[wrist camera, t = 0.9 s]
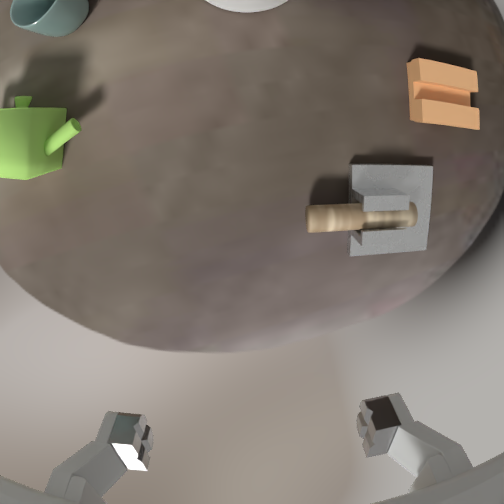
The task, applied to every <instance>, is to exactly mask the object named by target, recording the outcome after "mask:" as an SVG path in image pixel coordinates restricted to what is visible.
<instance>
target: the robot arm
mask: <svg viewBox="0 0 504 504" xmlns="http://www.w3.org/2000/svg"><path fill="white" fill-rule="evenodd" d="M206 1H207V2H209V3H210V4H212V5H214V6H217V7H219V8H222V9H225V10H230V11H235V12H258V11H264V10H268V9H272V8H274V7H277V6H279V5H281V4H283V3H285V2H287V1H288V0H206ZM360 409H361V412H360V413H359V414H358V416H357V429H358V433H359V436H360V437H362V438H363V439H364V441H363V448H364V451H365V454H366V457H372V456H376V455H381V454H385V453H387V455H389V456H390V457H391V458H392V459H394V460H395V461H396V462H397V463H399V464H400V465H401V466H402V467H403V468H405V469H406V470H407V471H408V472H410V473H411V474H412V475H414V476H415V477H416V480H415V481H414V483H413V484H412V486H411V487H410V489H409V493H407V494H404V495H401V496H398V497H395V498H391V499H388V500H384V501H380V502H376V503H372V504H504V452H503V453H501V454H500V455H498V456H496V457H494V458H492V459H490V460H488V461H486V462H484V463H482V464H480V465H478V466H476V467H474V468H473V466H472V464H471V463H470V461H469V459H468V457H467V455H466V453H465V451H464V449H463V447H462V446H461V445H460V444H458V443H456V442H454V441H453V440H451V439H449V438H447V437H445V436H444V435H442V434H440V433H438V432H436V431H435V430H433V429H431V428H429V427H428V426H426V425H424V424H422V423H421V422H419V421H415V422H414V420H413V418H412V416H411V414H410V412H409V410H408V408H407V406H406V404H405V402H404V400H403V398H402V397H401V395H400V394H399V393H395V394H390V395H386V396H381V397H376V398H371V399H366V400H362V401H361V403H360ZM146 423H147V419H146V417H145V415H140V414H130V413H120V412H111V411H108V412H107V413H106V414H105V417H104V419H103V422H102V424H101V427H100V429H99V432H98V435H97V437H96V440H95V441H91V442H90V443H89V444H87V445H86V446H84V447H83V448H82V449H81V450H79V451H78V452H76V453H75V454H74V455H73V456H71V457H70V458H68V459H67V460H66V461H64V462H63V463H61V464H60V465H59V466H57V467H56V468H54V469H53V472H52V474H51V477H50V479H49V482H48V484H47V487H46V489H45V492H42V491H39V490H36V489H33V488H30V487H28V486H25V485H22V484H20V483H17V482H15V481H12V480H10V479H7V478H5V477H3V476H1V475H0V504H108V503H107V502H106V501H105V500H104V499H103V498H102V496H103V495H104V494H105V493H106V492H107V491H108V490H109V489H110V488H111V487H112V486H113V485H114V484H115V483H116V482H117V481H118V480H119V479H120V477H121V476H122V475H123V474H124V473H125V472H126V471H127V469H132V470H144V471H147V470H148V465H149V460H150V457H149V455H148V452H149V451H150V450H151V449H152V446H153V434H152V430H151V428H150V427H149V426H148V425H146Z"/></svg>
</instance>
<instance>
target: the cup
mask: <svg viewBox="0 0 504 504" xmlns="http://www.w3.org/2000/svg"><path fill="white" fill-rule="evenodd" d="M88 12H89V1H88V0H13V2H12V5H11V9H10V16H11V20H12V22H13V23H14V24H15V25H16V26H18V27H20V28H22V29H25V30H28V31H31V32H34V33H37V34H41V35H45V36H50V37H62V36H66V35H69V34H71V33H72V32H74V31H75V30H76V29H78V28H79V27H80V26H81V24H82V23H83V22H84V20H85V19H86V17H87V15H88Z"/></svg>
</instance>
